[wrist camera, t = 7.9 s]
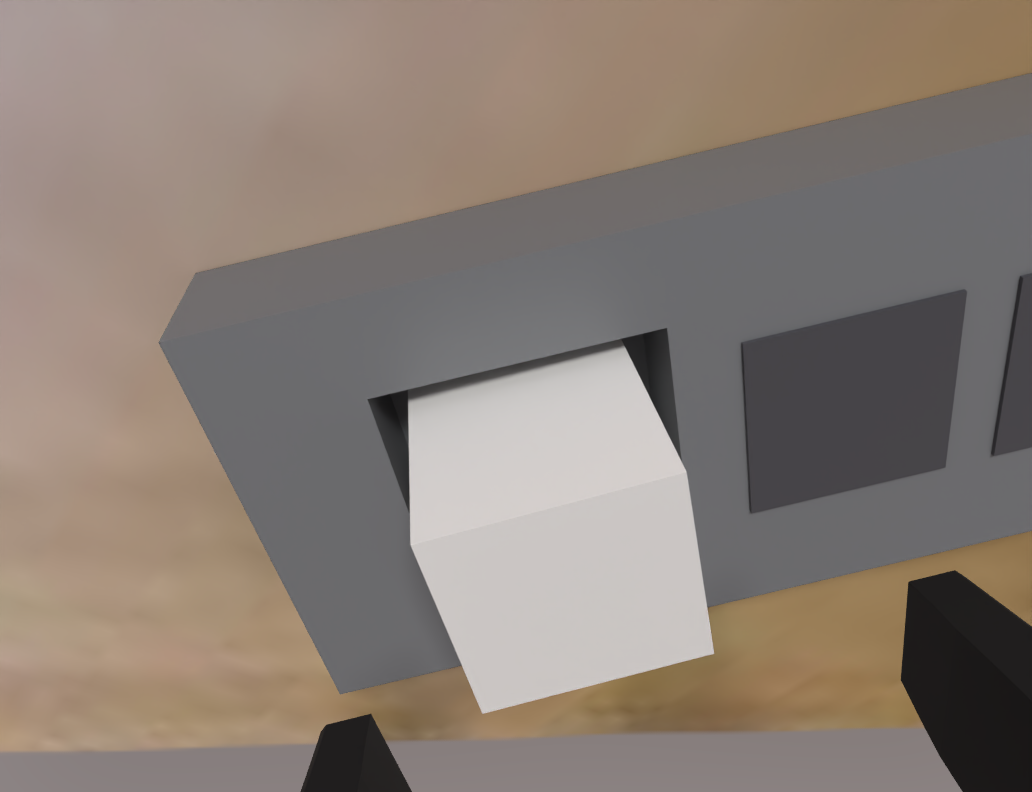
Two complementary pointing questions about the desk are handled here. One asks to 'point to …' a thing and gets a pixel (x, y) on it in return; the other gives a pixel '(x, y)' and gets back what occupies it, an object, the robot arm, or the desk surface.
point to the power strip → (655, 358)
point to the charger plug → (554, 525)
